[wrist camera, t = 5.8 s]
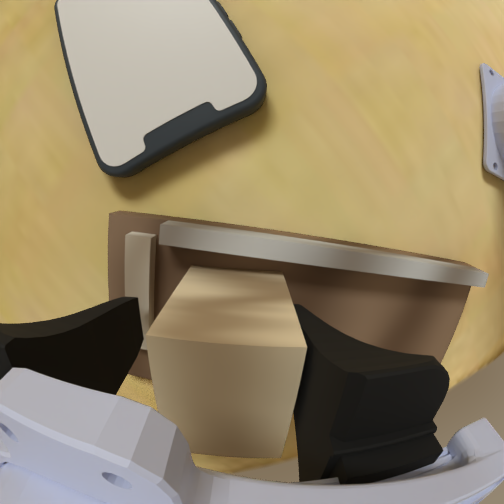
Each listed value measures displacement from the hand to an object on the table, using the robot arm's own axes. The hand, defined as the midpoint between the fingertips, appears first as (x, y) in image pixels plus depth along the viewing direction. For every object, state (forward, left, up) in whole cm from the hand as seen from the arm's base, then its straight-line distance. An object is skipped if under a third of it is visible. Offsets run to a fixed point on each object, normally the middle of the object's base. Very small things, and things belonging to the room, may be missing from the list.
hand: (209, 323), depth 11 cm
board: (-5, +1, -3) cm, 6 cm away
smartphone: (+7, -14, -4) cm, 16 cm away
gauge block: (-1, +1, -2) cm, 2 cm away
